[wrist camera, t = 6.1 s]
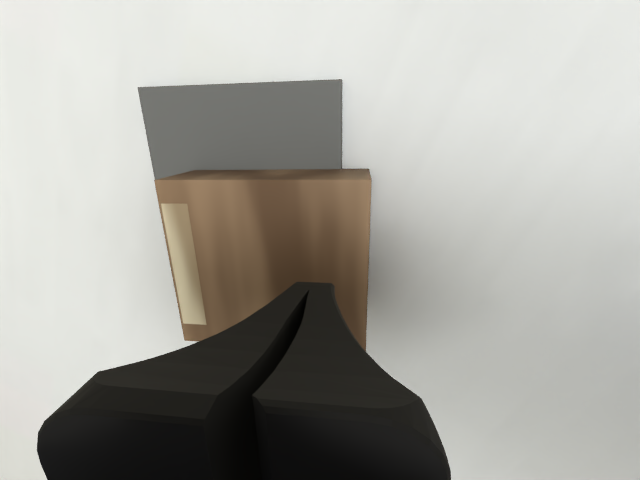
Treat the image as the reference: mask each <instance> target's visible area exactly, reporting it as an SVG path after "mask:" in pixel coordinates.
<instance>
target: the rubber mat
mask: <svg viewBox="0 0 640 480" xmlns="http://www.w3.org/2000/svg"><path fill="white" fill-rule="evenodd" d="M138 92H139V97H140V103H141V108H142V113H143V119H144V124H145V129H146V134H147V140H148V145H149V150H150V156H151V161H152V166H153V172H154V177H155V180H157V179H161V178H165V177H169V176H173V175H177V174H181V173H185V172H189V171H193V170H279V169H342V79H338V80H313V81H287V82H262V83H236V84H211V85H186V86H160V87H138Z"/></svg>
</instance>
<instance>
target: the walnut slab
mask: <svg viewBox="0 0 640 480" xmlns="http://www.w3.org/2000/svg"><path fill="white" fill-rule="evenodd" d="M154 181H155V186H156V192H157V197H158V202H159V208H160V213H161V218H162V223H163V229H164V234H165V239H166V245H167V250H168V255H169V260H170V266H171V271H172V276H173V282H174V287H175V292H176V297H177V303H178V308H179V313H180V319H181V324H182V329H183V334H184V340H186V341H202V340H204V339H206V338H209V337H211V336H213V335H216V334H218V333H220V332H222V331H224V330H226V329H228V328H230V327H231V326H233V325H235V324H237V323H239V322H241V321H242V320H244V319H246V318H247V317H249V316H250V315H252V314H253V313H255V312H256V311H258V310H259V309H261V308H262V307H264V306H265V305H267V304H268V303H269V302H271V301H272V300H273V299H275V298H276V297H277V296H279V295H280V294H281V293H283V292H284V291H285V290H286V289H288V288H289V287H290V286H292V285H293V284H294V283H296V282H319V283H332V284H333V285H334V286H335V298H336V301H337V304H338V307H339V309H340V312H341V314H342V316H343V318H344V320H345V322H346V324H347V326H348V327H349V329H350V331H351V332H352V334H353V335H354V337H355V338H356V340H357V341H358V343H359V344H360V345H361V346H362V348H363V349H364V350H365V351H366V325H367V295H368V265H369V235H370V205H371V176H370V172H369V169H279V170H193V171H189V172H185V173H181V174H177V175H173V176H169V177H165V178H161V179H157V180H154Z"/></svg>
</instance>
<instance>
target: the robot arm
mask: <svg viewBox="0 0 640 480" xmlns="http://www.w3.org/2000/svg"><path fill="white" fill-rule="evenodd" d="M37 452H38V455H39V459H40V463H41V465H42V468H43V470H44V472H45V475H46V477H47V479H48V480H451V472H450V467H449V463H448V459H447V456H446V453H445V450H444V447H443V445H442V442H441V440H440V437H439V435H438V432H437V430H436V428H435V425H434V423H433V421H432V419H431V417H430V414H429V412H428V410H427V408H426V406H425V404H424V403H423V401H422V399H421V398H420V397H419V396H417V395H416V394H415V393H413V392H412V391H410V390H409V389H408V388H406V387H405V386H403V385H402V384H400V383H399V382H398V381H396V380H395V379H393V378H392V377H391V376H390V375H389V374H387V373H386V372H385V371H384V370H383V369H382V368H381V367H380V366H379V365H378V364H377V363H376V362H375V361H374V360H373V359H372V358H371V357H370V356H369V355H368V354H367V353H366V351H365V350H364V349H363V348H362V346H361V345H360V344H359V343H358V341H357V340H356V338H355V337H354V335H353V334H352V332H351V331H350V329H349V327H348V326H347V324H346V322H345V320H344V318H343V316H342V314H341V312H340V309H339V307H338V304H337V301H336V298H335V286H334V285H333V284H332V283H319V282H296V283H294V284H293V285H292V286H290V287H289V288H288V289H286V290H285V291H284V292H283V293H281V294H280V295H279V296H277V297H276V298H275V299H273V300H272V301H271V302H269V303H268V304H267V305H265V306H264V307H262V308H261V309H259V310H258V311H256V312H255V313H253V314H252V315H250V316H249V317H247V318H246V319H244V320H242V321H241V322H239V323H237V324H235V325H233V326H231V327H230V328H228V329H226V330H224V331H222V332H220V333H218V334H216V335H213V336H211V337H209V338H206V339H204V340H202V341H199V342H197V343H194V344H192V345H190V346H187V347H184V348H182V349H179V350H176V351H173V352H170V353H167V354H164V355H161V356H158V357H154V358H151V359H148V360H144V361H140V362H136V363H132V364H128V365H124V366H120V367H116V368H112V369H108V370H104V371H99V372H97V373H96V374H95V375H94V376H93V377H92V378H91V379H90V380H89V381H88V382H87V383H85V384H84V385H83V386H82V387H81V388H80V389H79V390H78V391H77V392H76V393H75V394H74V395H72V396H71V397H70V398H69V399H68V400H67V401H66V402H65V403H64V404H63V405H62V406H61V407H59V408H58V409H57V410H56V411H55V412H54V413H53V414H52V415H51V416H50V417H49V418H47V419H46V420H45V421H44V423H43V425H42V427H41V428H40V430H39V432H38V442H37Z"/></svg>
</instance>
